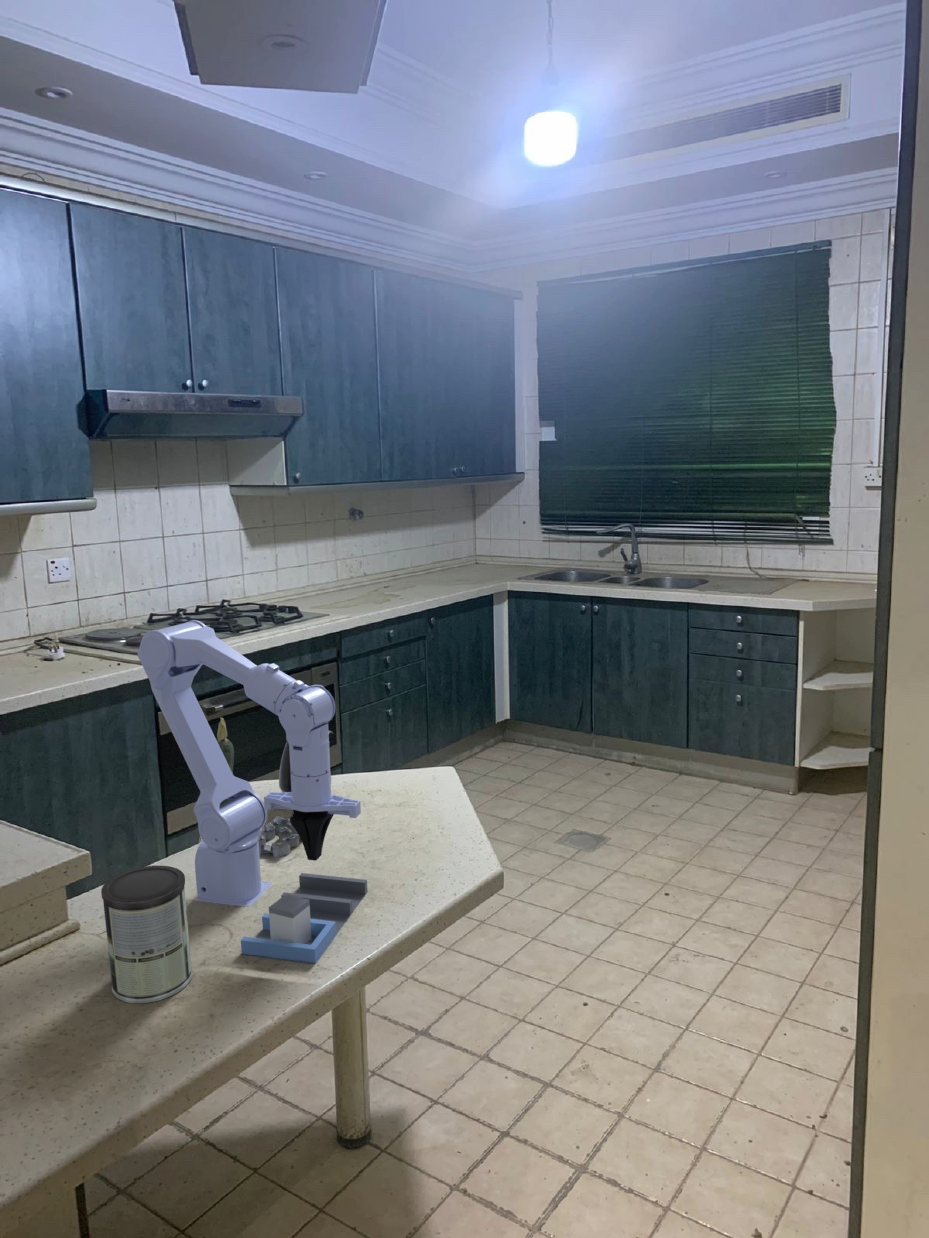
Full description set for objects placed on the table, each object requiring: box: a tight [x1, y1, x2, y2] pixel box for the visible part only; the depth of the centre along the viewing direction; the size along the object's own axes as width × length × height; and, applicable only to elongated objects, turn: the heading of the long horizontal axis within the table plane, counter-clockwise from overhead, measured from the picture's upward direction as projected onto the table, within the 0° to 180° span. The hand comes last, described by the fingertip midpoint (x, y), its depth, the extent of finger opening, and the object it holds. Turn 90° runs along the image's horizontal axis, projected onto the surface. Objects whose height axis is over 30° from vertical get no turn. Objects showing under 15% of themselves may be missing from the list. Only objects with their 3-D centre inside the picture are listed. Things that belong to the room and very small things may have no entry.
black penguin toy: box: [278, 740, 332, 793], centre depth 180 cm, size 10×10×15 cm
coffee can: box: [100, 865, 193, 1004], centre depth 120 cm, size 10×10×14 cm
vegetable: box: [216, 717, 235, 805], centre depth 171 cm, size 4×4×20 cm
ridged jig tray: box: [240, 872, 369, 965], centre depth 135 cm, size 11×21×3 cm, turn 166°
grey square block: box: [268, 895, 311, 944], centre depth 129 cm, size 4×4×6 cm
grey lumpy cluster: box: [258, 815, 301, 858], centre depth 161 cm, size 11×8×4 cm
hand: (314, 857), depth 136 cm, fingers closed
